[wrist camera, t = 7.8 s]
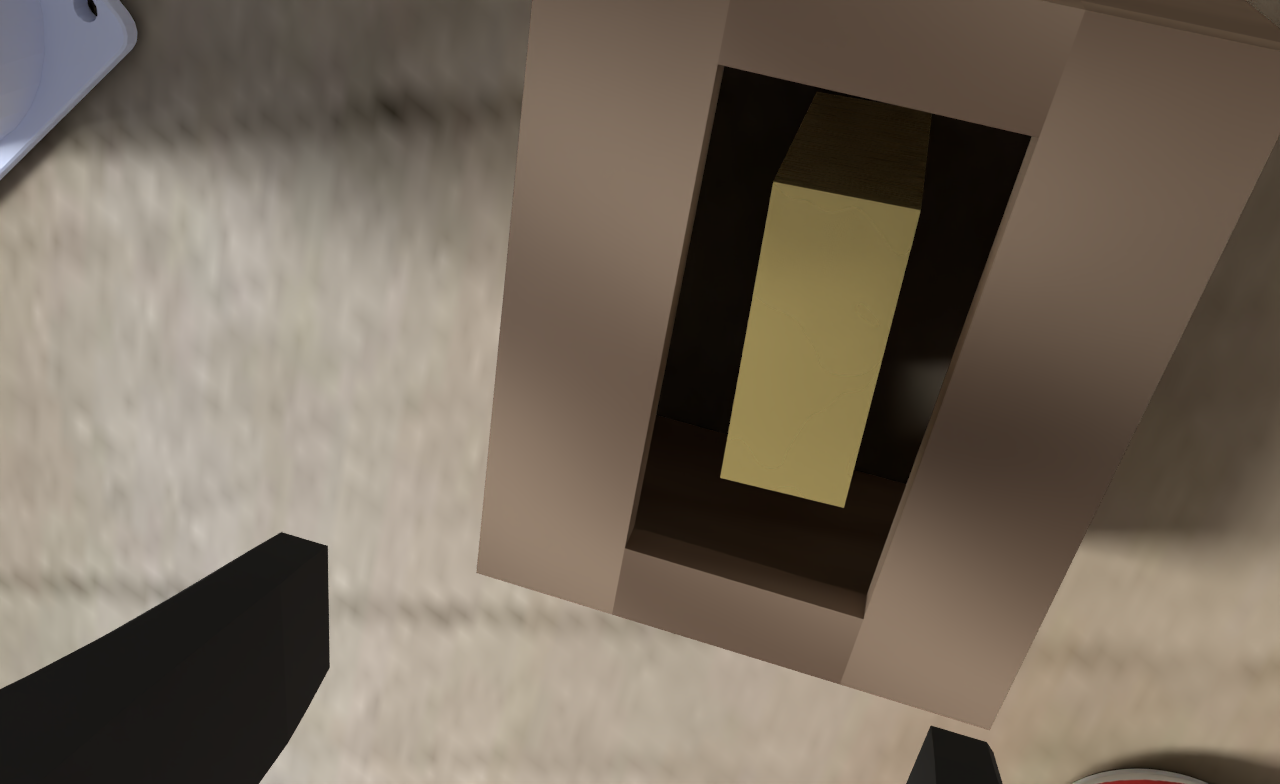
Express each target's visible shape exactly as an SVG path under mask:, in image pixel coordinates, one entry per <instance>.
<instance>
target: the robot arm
mask: <svg viewBox="0 0 1280 784" xmlns="http://www.w3.org/2000/svg"><path fill="white" fill-rule="evenodd" d="M93 2H94V3H95V5H96V7H97V14H98V15H97V16H96V15H94V14H93V13H92V12H91V10H90V8H89V6H88V1H87V0H0V180H1V179H2V178H3V177H4V176H5V175H6V174H7V173H8V172H9V171H10V170H11V169H12V168H13V167H14V166H15V165H16V164H17V163H18V162H19V161H20V160H21V159H22V158H23V157H24V156H25V155H26V154H27V153H28V152H29V151H30V150H31V149H32V148H33V147H34V146H35V145H36V144H37V143H38V142H39V141H40V140H41V139H42V138H43V137H44V136H45V135H46V134H47V133H48V132H49V131H50V130H51V129H52V128H53V127H54V126H55V125H56V124H57V123H58V122H59V121H60V120H61V119H62V118H63V117H64V116H65V115H67V114H68V113H69V112H70V111H71V110H72V109H73V108H74V107H75V106H76V105H77V104H78V103H79V102H80V101H81V100H82V99H83V98H84V97H85V96H86V95H87V94H88V93H89V92H90V91H91V90H92V89H93V88H94V87H95V86H96V85H97V84H98V83H99V82H100V81H101V80H102V79H103V78H104V77H105V76H106V75H107V74H108V73H109V72H110V71H111V70H112V69H113V68H114V67H115V66H116V65H117V64H118V63H119V62H120V61H121V60H122V59H123V58H124V57H125V56H126V55H127V54H128V53H129V52H130V51H131V50H132V49H133V47H134V46H135V44H136V42H137V33H138V32H137V28H136V25H135V22H134V20H133V18H132V17H131V15H130V13H129V12H128V11H127V9H126V8H125V7H124V6H123V4H122V3H121V2H120V1H119V0H93ZM329 668H330V663H329V599H328V546H326V545H323V544H319V543H316V542H312V541H309V540H306V539H302V538H299V537H296V536H292V535H289V534H286V533H282V532H281V533H279V534H278V535H276V536H274V537H272V538H271V539H269V540H267V541H265V542H264V543H262V544H260V545H258V546H257V547H255V548H253V549H251V550H250V551H248V552H246V553H245V554H243V555H241V556H240V557H238V558H236V559H235V560H233V561H231V562H230V563H228V564H226V565H225V566H223V567H221V568H220V569H218V570H216V571H215V572H213V573H211V574H210V575H208V576H206V577H205V578H203V579H201V580H200V581H198V582H196V583H195V584H193V585H191V586H190V587H188V588H186V589H185V590H183V591H181V592H180V593H178V594H176V595H175V596H173V597H171V598H169V599H168V600H166V601H164V602H162V603H161V604H159V605H157V606H155V607H154V608H152V609H150V610H148V611H147V612H145V613H143V614H142V615H140V616H138V617H136V618H135V619H133V620H131V621H129V622H128V623H126V624H124V625H122V626H121V627H119V628H117V629H115V630H114V631H112V632H110V633H108V634H106V635H105V636H103V637H101V638H99V639H97V640H95V641H94V642H92V643H90V644H88V645H86V646H84V647H82V648H80V649H78V650H76V651H74V652H73V653H71V654H69V655H67V656H65V657H63V658H61V659H59V660H57V661H55V662H53V663H51V664H50V665H48V666H46V667H44V668H42V669H40V670H38V671H36V672H34V673H32V674H30V675H28V676H26V677H24V678H22V679H20V680H18V681H16V682H14V683H12V684H10V685H8V686H6V687H4V688H2V689H0V784H259V783H260V781H261V780H262V779H263V777H264V776H265V774H266V773H267V772H268V770H269V769H270V767H271V766H272V765H273V763H274V762H275V760H276V759H277V758H278V756H279V755H280V753H281V752H282V750H283V749H284V748H285V746H286V745H287V743H288V742H289V740H290V738H291V737H292V735H293V733H294V731H295V730H296V728H297V726H298V724H299V723H300V721H301V719H302V717H303V716H304V714H305V712H306V710H307V709H308V707H309V705H310V703H311V701H312V699H313V697H314V696H315V694H316V692H317V690H318V688H319V686H320V684H321V683H322V681H323V679H324V677H325V675H326V673H327V671H328V670H329ZM906 784H1002V780H1001V777H1000V774H999V770H998V767H997V764H996V760H995V757H994V753H993V751H992V750H991V748H990V746H989V745H988V743H987V742H984V741H981V740H977V739H974V738H971V737H967V736H964V735H961V734H957V733H954V732H951V731H947V730H944V729H940V728H937V727H934V726H930V729H929V731H928V733H927V736H926V738H925V741H924V743H923V745H922V748H921V750H920V752H919V755H918V757H917V759H916V762H915V764H914V767H913V769H912V771H911V774H910V776H909V778H908V781H907V783H906Z"/></svg>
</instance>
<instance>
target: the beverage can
mask: <svg viewBox="0 0 1280 784" xmlns="http://www.w3.org/2000/svg"><path fill="white" fill-rule="evenodd" d="M1072 784H1208V783H1206V782H1203V781H1201V780H1198V779H1195V778H1193V777H1190V776H1186V775H1182V774H1178V773H1173V772H1168V771H1162V770H1154V769H1121V770H1113V771H1107V772H1102V773H1098V774H1094V775H1091V776H1088V777H1085V778H1083V779H1080V780H1078V781H1076V782H1074V783H1072Z"/></svg>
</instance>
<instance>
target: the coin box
mask: <svg viewBox="0 0 1280 784" xmlns="http://www.w3.org/2000/svg"><path fill="white" fill-rule="evenodd" d="M724 66H727V67H732V68H736V69H740V70H745V71H749V72H753V73H758V74H762V75H767V76H771V77H775V78H780V79H784V80H788V81H793V82H797V83H802V84H806V85H810V86H815V87H819V88H823V89H828V90H832V91H837V92H841V93H845V94H850V95H854V96H858V97H863V98H867V99H872V100H876V101H880V102H885V103H889V104H893V105H898V106H902V107H907V108H911V109H915V110H920V111H924V112H928V113H933V114H937V115H942V116H946V117H950V118H955V119H959V120H963V121H968V122H972V123H977V124H981V125H985V126H990V127H994V128H998V129H1003V130H1007V131H1012V132H1016V133H1020V134H1025V135H1029V136H1032V137H1031V140H1030V143H1029V146H1028V148H1027V151H1026V154H1025V157H1024V160H1023V162H1022V165H1021V168H1020V171H1019V173H1018V176H1017V179H1016V182H1015V184H1014V187H1013V190H1012V193H1011V196H1010V198H1009V201H1008V204H1007V207H1006V209H1005V212H1004V215H1003V218H1002V221H1001V223H1000V226H999V229H998V232H997V234H996V237H995V240H994V243H993V246H992V248H991V251H990V254H989V257H988V259H987V262H986V265H985V268H984V271H983V273H982V276H981V279H980V282H979V284H978V287H977V290H976V293H975V295H974V298H973V301H972V304H971V307H970V309H969V312H968V315H967V318H966V320H965V323H964V326H963V329H962V332H961V334H960V337H959V340H958V343H957V345H956V348H955V351H954V354H953V357H952V359H951V362H950V365H949V368H948V370H947V373H946V376H945V379H944V382H943V384H942V387H941V390H940V393H939V395H938V398H937V401H936V404H935V406H934V409H933V412H932V415H931V418H930V420H929V423H928V426H927V429H926V431H925V434H924V437H923V440H922V443H921V445H920V448H919V451H918V454H917V456H916V459H915V462H914V465H913V468H912V470H911V473H910V476H909V479H908V481H907V484H903V483H900V482H896V481H893V480H889V479H885V478H882V477H878V476H875V475H871V474H867V473H864V472H860V471H857V470H854V471H853V475H852V479H851V482H850V486H849V490H848V494H847V498H846V502H845V506H844V508H843V507H838V506H834V505H830V504H826V503H822V502H818V501H814V500H810V499H805V498H801V497H797V496H793V495H789V494H785V493H781V492H777V491H772V490H768V489H764V488H760V487H756V486H752V485H748V484H744V483H739V482H735V481H731V480H727V479H723V478H720V476H721V470H722V465H723V459H724V454H725V448H726V443H727V437H728V435H727V434H724V433H720V432H716V431H713V430H709V429H706V428H702V427H698V426H695V425H691V424H688V423H684V422H680V421H677V420H673V419H670V418H666V417H662V416H659V415H656V413H657V408H658V403H659V397H660V392H661V387H662V382H663V377H664V372H665V367H666V362H667V356H668V351H669V346H670V341H671V336H672V331H673V326H674V321H675V316H676V310H677V305H678V300H679V295H680V290H681V285H682V280H683V275H684V270H685V264H686V259H687V254H688V249H689V244H690V239H691V234H692V229H693V223H694V218H695V213H696V208H697V203H698V198H699V193H700V188H701V183H702V177H703V172H704V167H705V162H706V157H707V152H708V147H709V142H710V137H711V131H712V126H713V121H714V116H715V111H716V106H717V101H718V96H719V90H720V85H721V80H722V75H723V70H724ZM1279 135H1280V28H1278V27H1277V26H1276V25H1275V24H1274V23H1272V22H1271V21H1270V20H1269V19H1267V18H1266V17H1265V16H1264V15H1262V14H1261V13H1260V12H1259V11H1257V10H1256V9H1255V8H1254V7H1253V6H1251V5H1250V4H1249V3H1248V2H1246V1H1245V0H532V7H531V17H530V27H529V37H528V48H527V58H526V68H525V79H524V89H523V99H522V110H521V120H520V130H519V140H518V151H517V161H516V171H515V182H514V192H513V202H512V212H511V223H510V233H509V243H508V254H507V264H506V274H505V284H504V295H503V305H502V315H501V326H500V336H499V346H498V357H497V367H496V377H495V387H494V398H493V408H492V418H491V429H490V439H489V449H488V459H487V470H486V480H485V490H484V501H483V511H482V521H481V532H480V542H479V552H478V562H477V573H479V574H482V575H486V576H489V577H492V578H495V579H499V580H502V581H505V582H508V583H512V584H515V585H518V586H521V587H525V588H528V589H531V590H534V591H538V592H541V593H544V594H547V595H551V596H554V597H557V598H560V599H564V600H567V601H570V602H573V603H577V604H580V605H583V606H587V607H590V608H593V609H596V610H600V611H603V612H606V613H609V614H613V615H616V616H619V617H622V618H626V619H629V620H632V621H635V622H639V623H642V624H645V625H648V626H652V627H655V628H658V629H661V630H665V631H668V632H671V633H674V634H678V635H681V636H684V637H687V638H691V639H694V640H697V641H701V642H704V643H707V644H710V645H714V646H717V647H720V648H723V649H727V650H730V651H733V652H736V653H740V654H743V655H746V656H749V657H753V658H756V659H759V660H762V661H766V662H769V663H772V664H775V665H779V666H782V667H785V668H788V669H792V670H795V671H798V672H801V673H805V674H808V675H811V676H815V677H818V678H821V679H824V680H828V681H831V682H834V683H837V684H841V685H844V686H847V687H850V688H854V689H857V690H860V691H863V692H867V693H870V694H873V695H876V696H880V697H883V698H886V699H889V700H893V701H896V702H899V703H902V704H906V705H909V706H912V707H916V708H919V709H922V710H925V711H929V712H932V713H935V714H938V715H942V716H945V717H948V718H951V719H955V720H958V721H961V722H964V723H968V724H971V725H974V726H977V727H981V728H984V729H987V730H990V729H991V726H992V724H993V722H994V720H995V718H996V716H997V714H998V712H999V710H1000V708H1001V706H1002V704H1003V702H1004V700H1005V698H1006V696H1007V694H1008V692H1009V690H1010V687H1011V685H1012V683H1013V681H1014V679H1015V677H1016V675H1017V673H1018V671H1019V669H1020V667H1021V665H1022V663H1023V661H1024V659H1025V657H1026V655H1027V653H1028V651H1029V648H1030V646H1031V644H1032V642H1033V640H1034V638H1035V636H1036V634H1037V632H1038V630H1039V628H1040V626H1041V624H1042V622H1043V620H1044V618H1045V616H1046V614H1047V612H1048V609H1049V607H1050V605H1051V603H1052V601H1053V599H1054V597H1055V595H1056V593H1057V591H1058V589H1059V587H1060V585H1061V583H1062V581H1063V579H1064V577H1065V575H1066V573H1067V570H1068V568H1069V566H1070V564H1071V562H1072V560H1073V558H1074V556H1075V554H1076V552H1077V550H1078V548H1079V546H1080V544H1081V542H1082V540H1083V538H1084V536H1085V534H1086V531H1087V529H1088V527H1089V525H1090V523H1091V521H1092V519H1093V517H1094V515H1095V513H1096V511H1097V509H1098V507H1099V505H1100V503H1101V501H1102V499H1103V497H1104V495H1105V492H1106V490H1107V488H1108V486H1109V484H1110V482H1111V480H1112V478H1113V476H1114V474H1115V472H1116V470H1117V468H1118V466H1119V464H1120V462H1121V460H1122V458H1123V456H1124V453H1125V451H1126V449H1127V447H1128V445H1129V443H1130V441H1131V439H1132V437H1133V435H1134V433H1135V431H1136V429H1137V427H1138V425H1139V423H1140V421H1141V419H1142V417H1143V414H1144V412H1145V410H1146V408H1147V406H1148V404H1149V402H1150V400H1151V398H1152V396H1153V394H1154V392H1155V390H1156V388H1157V386H1158V384H1159V382H1160V380H1161V378H1162V375H1163V373H1164V371H1165V369H1166V367H1167V365H1168V363H1169V361H1170V359H1171V357H1172V355H1173V353H1174V351H1175V349H1176V347H1177V345H1178V343H1179V341H1180V339H1181V336H1182V334H1183V332H1184V330H1185V328H1186V326H1187V324H1188V322H1189V320H1190V318H1191V316H1192V314H1193V312H1194V310H1195V308H1196V306H1197V304H1198V302H1199V300H1200V297H1201V295H1202V293H1203V291H1204V289H1205V287H1206V285H1207V283H1208V281H1209V279H1210V277H1211V275H1212V273H1213V271H1214V269H1215V267H1216V265H1217V263H1218V260H1219V258H1220V256H1221V254H1222V252H1223V250H1224V248H1225V246H1226V244H1227V242H1228V240H1229V238H1230V236H1231V234H1232V232H1233V230H1234V228H1235V226H1236V224H1237V221H1238V219H1239V217H1240V215H1241V213H1242V211H1243V209H1244V207H1245V205H1246V203H1247V201H1248V199H1249V197H1250V195H1251V193H1252V191H1253V189H1254V187H1255V185H1256V182H1257V180H1258V178H1259V176H1260V174H1261V172H1262V170H1263V168H1264V166H1265V164H1266V162H1267V160H1268V158H1269V156H1270V154H1271V152H1272V150H1273V148H1274V146H1275V143H1276V141H1277V139H1278V137H1279Z"/></svg>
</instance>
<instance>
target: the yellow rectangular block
mask: <svg viewBox="0 0 1280 784" xmlns="http://www.w3.org/2000/svg"><path fill="white" fill-rule="evenodd" d="M931 116H932V113H928V112H924V111H920V110H915V109H911V108H907V107H901V106H895V105H890V104H884V103H878V102H873V101H867V100H861V99H856V98H850V97H844V96H839V95H833V94H827V93H822V92H817V93H816V95H815V97H814V99H813V101H812V103H811V105H810V107H809V109H808V111H807V113H806V115H805V117H804V119H803V121H802V123H801V126H800V128H799V130H798V132H797V134H796V136H795V138H794V140H793V142H792V144H791V146H790V148H789V150H788V152H787V154H786V156H785V159H784V161H783V163H782V165H781V167H780V169H779V171H778V173H777V175H776V177H775V179H774V181H773V186H772V191H771V197H770V203H769V208H768V214H767V219H766V225H765V230H764V236H763V242H762V247H761V253H760V258H759V264H758V270H757V275H756V281H755V286H754V292H753V297H752V303H751V309H750V314H749V320H748V325H747V331H746V337H745V342H744V348H743V353H742V359H741V364H740V370H739V376H738V381H737V387H736V392H735V398H734V403H733V409H732V415H731V420H730V426H729V431H728V437H727V443H726V448H725V454H724V459H723V465H722V470H721V476H720V478H723V479H727V480H731V481H735V482H739V483H744V484H748V485H752V486H756V487H760V488H764V489H768V490H772V491H777V492H781V493H785V494H789V495H793V496H797V497H801V498H805V499H810V500H814V501H818V502H822V503H826V504H830V505H834V506H838V507H843V508H844V506H845V502H846V498H847V494H848V490H849V486H850V482H851V479H852V475H853V471H854V467H855V463H856V459H857V455H858V451H859V448H860V444H861V440H862V436H863V432H864V428H865V424H866V420H867V417H868V413H869V409H870V405H871V401H872V397H873V393H874V390H875V386H876V382H877V378H878V374H879V370H880V366H881V362H882V359H883V355H884V351H885V347H886V343H887V339H888V335H889V331H890V328H891V324H892V320H893V316H894V312H895V308H896V304H897V300H898V297H899V293H900V289H901V285H902V281H903V277H904V273H905V270H906V266H907V262H908V258H909V254H910V250H911V246H912V242H913V239H914V235H915V231H916V227H917V223H918V219H919V215H920V211H921V204H922V195H923V187H924V178H925V169H926V160H927V151H928V142H929V134H930V125H931Z"/></svg>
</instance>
